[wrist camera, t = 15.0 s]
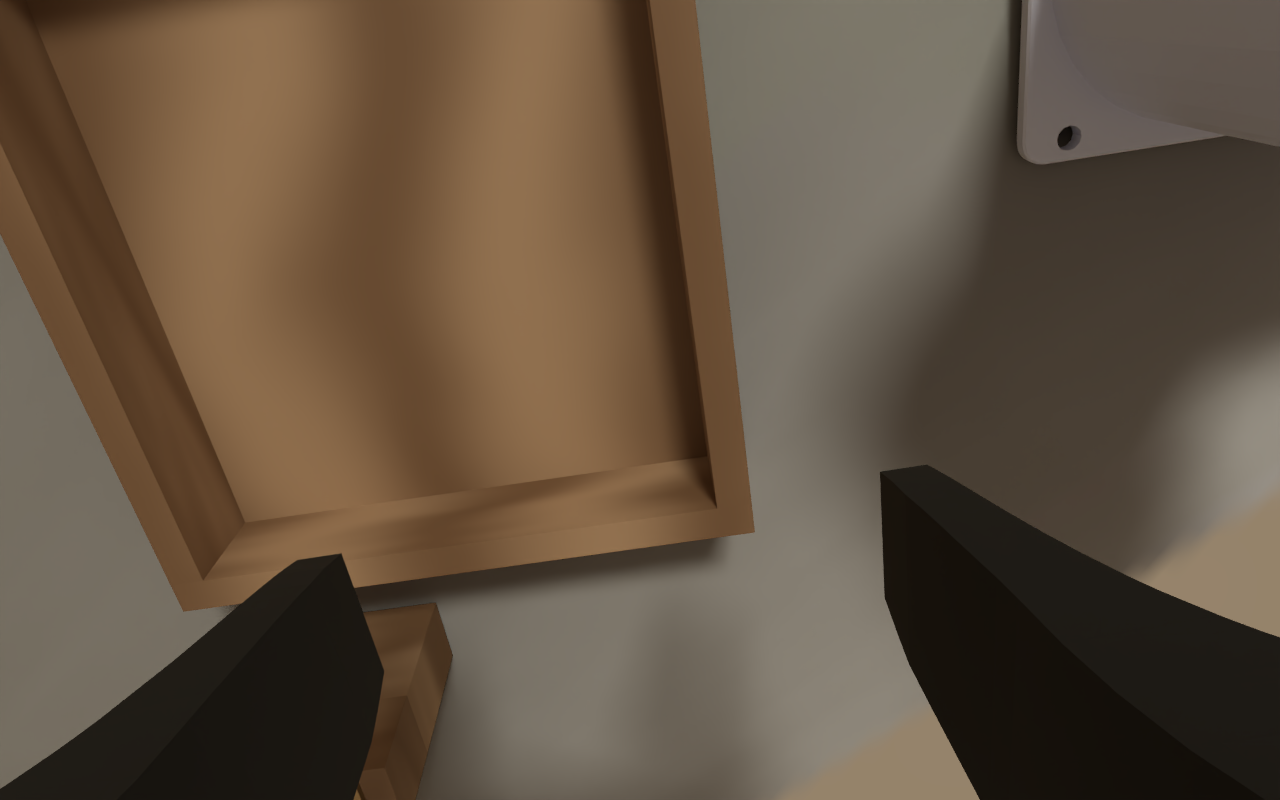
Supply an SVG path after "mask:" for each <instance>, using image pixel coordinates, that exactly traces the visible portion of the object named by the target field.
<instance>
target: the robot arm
mask: <svg viewBox="0 0 1280 800" xmlns="http://www.w3.org/2000/svg"><path fill="white" fill-rule="evenodd" d="M1068 126H1070V127H1072V132H1073V135H1072V138H1071V140H1070V142H1069V143H1068V144H1067V145H1066V146H1063V147H1061V148H1060V147H1059V146H1058V143H1057V138H1058V135H1059V133H1060V132H1061V131H1062V130H1063V128H1065V127H1068ZM1222 136H1231V137H1236V138H1241V139H1245V140H1250V141H1254V142H1259V143H1264V144H1268V145H1273V146H1278V147H1280V0H1022V18H1021V44H1020V70H1019V96H1018V122H1017V148H1018V152H1019V154H1020V155H1021V156H1022V158H1024V159H1026V160H1027V161H1029V162H1032V163H1034V164H1049V163H1056V162H1062V161H1069V160H1075V159H1081V158H1088V157H1094V156H1101V155H1107V154H1113V153H1120V152H1126V151H1133V150H1139V149H1145V148H1152V147H1158V146H1165V145H1171V144H1177V143H1184V142H1190V141H1197V140H1203V139H1209V138H1216V137H1222ZM880 482H881V510H882V537H883V564H884V591H885V600H886V602H887V605H888V608H889V611H890V614H891V616H892V619H893V622H894V625H895V628H896V630H897V633H898V636H899V639H900V641H901V644H902V646H903V649H904V652H905V654H906V657H907V660H908V662H909V665H910V667H911V669H912V671H913V673H914V675H915V677H916V678H917V680H918V682H919V684H920V686H921V688H922V690H923V692H924V694H925V696H926V698H927V700H928V702H929V704H930V706H931V708H932V709H933V711H934V713H935V715H936V717H937V719H938V721H939V723H940V725H941V727H942V728H943V730H944V732H945V734H946V736H947V738H948V740H949V742H950V744H951V746H952V748H953V749H954V751H955V753H956V755H957V757H958V759H959V761H960V763H961V765H962V767H963V768H964V770H965V772H966V774H967V776H968V778H969V780H970V782H971V783H972V785H973V787H974V789H975V791H976V793H977V795H978V797H979V799H980V800H1280V637H1277V636H1274V635H1271V634H1268V633H1265V632H1262V631H1259V630H1257V629H1254V628H1251V627H1249V626H1246V625H1243V624H1241V623H1238V622H1235V621H1232V620H1230V619H1227V618H1225V617H1222V616H1219V615H1217V614H1215V613H1212V612H1210V611H1207V610H1205V609H1203V608H1200V607H1198V606H1195V605H1193V604H1190V603H1188V602H1186V601H1183V600H1181V599H1178V598H1176V597H1174V596H1171V595H1169V594H1166V593H1164V592H1161V591H1159V590H1157V589H1155V588H1152V587H1150V586H1148V585H1146V584H1144V583H1142V582H1139V581H1137V580H1135V579H1133V578H1131V577H1129V576H1126V575H1124V574H1122V573H1120V572H1118V571H1116V570H1114V569H1112V568H1110V567H1108V566H1106V565H1104V564H1102V563H1100V562H1098V561H1096V560H1094V559H1092V558H1090V557H1088V556H1086V555H1084V554H1082V553H1080V552H1078V551H1077V550H1075V549H1073V548H1071V547H1069V546H1067V545H1065V544H1063V543H1062V542H1060V541H1058V540H1056V539H1054V538H1052V537H1050V536H1049V535H1047V534H1045V533H1043V532H1041V531H1040V530H1038V529H1036V528H1034V527H1033V526H1031V525H1029V524H1027V523H1026V522H1024V521H1022V520H1020V519H1019V518H1017V517H1015V516H1013V515H1012V514H1010V513H1008V512H1007V511H1005V510H1003V509H1001V508H1000V507H998V506H996V505H995V504H993V503H991V502H990V501H988V500H986V499H985V498H983V497H981V496H980V495H978V494H976V493H975V492H973V491H971V490H970V489H968V488H966V487H965V486H963V485H961V484H960V483H958V482H956V481H955V480H953V479H951V478H950V477H948V476H946V475H945V474H943V473H941V472H939V471H938V470H936V469H934V468H932V467H930V466H928V465H922V466H915V467H909V468H902V469H896V470H889V471H882V472H880ZM383 676H384V669H383V666H382V663H381V660H380V658H379V655H378V652H377V649H376V647H375V644H374V641H373V638H372V636H371V633H370V630H369V627H368V625H367V622H366V619H365V616H364V614H363V611H362V608H361V605H360V603H359V600H358V597H357V595H356V592H355V589H354V586H353V584H352V581H351V578H350V575H349V573H348V570H347V567H346V564H345V562H344V559H343V556H342V553H340V554H333V555H327V556H320V557H313V558H307V559H300V560H296V561H295V562H293V563H292V564H291V565H289V566H288V567H286V568H285V569H283V570H282V571H281V572H280V573H278V574H277V575H276V576H274V577H273V578H272V579H271V580H269V581H268V582H267V583H266V584H264V585H263V586H262V587H261V588H260V589H258V590H257V591H256V592H255V593H253V594H252V595H251V596H250V597H249V598H248V599H246V600H245V601H244V602H243V603H242V604H240V605H239V606H238V607H237V608H236V609H235V610H233V611H232V612H231V613H230V614H229V615H227V616H226V617H225V618H224V619H223V620H222V621H220V622H219V623H218V624H217V625H216V626H214V627H213V628H212V629H211V630H210V631H208V632H207V633H206V634H205V635H204V636H203V637H201V638H200V639H199V640H198V641H197V642H195V643H194V644H193V645H192V646H191V647H190V648H188V649H187V650H186V651H185V652H184V653H182V654H181V655H180V656H179V657H178V658H176V659H175V660H174V661H173V662H172V663H170V664H169V665H168V666H167V667H165V668H164V669H163V670H162V671H160V672H159V673H158V674H156V675H155V676H154V677H153V678H151V679H150V680H149V681H148V682H146V683H145V684H144V685H142V686H141V687H140V688H139V689H137V690H136V691H135V692H134V693H132V694H131V695H130V696H129V697H127V698H126V699H125V700H123V701H122V702H121V703H120V704H118V705H117V706H116V707H115V708H113V709H112V710H111V711H110V712H108V713H107V714H106V715H104V716H103V717H102V718H101V719H99V720H98V721H97V722H95V723H94V724H93V725H91V726H90V727H89V728H87V729H86V730H85V731H83V732H82V733H81V734H79V735H78V736H76V737H75V738H74V739H72V740H71V741H69V742H68V743H67V744H65V745H64V746H62V747H61V748H60V749H58V750H57V751H55V752H54V753H53V754H51V755H50V756H48V757H47V758H45V759H44V760H42V761H41V762H39V763H38V764H36V765H35V766H34V767H32V768H31V769H29V770H28V771H26V772H25V773H23V774H22V775H20V776H19V777H17V778H16V779H14V780H13V781H12V782H10V783H9V784H7V785H6V786H4V787H3V788H1V789H0V800H354V796H355V793H356V790H357V787H358V784H359V781H360V778H361V775H362V771H363V768H364V765H365V762H366V759H367V756H368V752H369V749H370V746H371V743H372V738H373V733H374V728H375V723H376V718H377V713H378V707H379V701H380V695H381V689H382V683H383Z"/></svg>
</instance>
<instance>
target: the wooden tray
mask: <svg viewBox="0 0 1280 800" xmlns="http://www.w3.org/2000/svg"><path fill="white" fill-rule="evenodd" d="M0 234H1V236H2V238H3V240H4V242H5V244H6V247H7V249H8V251H9V253H10V255H11V257H12V259H13V261H14V263H15V265H16V267H17V269H18V271H19V273H20V275H21V277H22V280H23V282H24V284H25V286H26V288H27V290H28V292H29V294H30V296H31V298H32V300H33V302H34V304H35V306H36V308H37V310H38V313H39V315H40V317H41V319H42V321H43V323H44V325H45V327H46V329H47V331H48V333H49V335H50V337H51V339H52V341H53V343H54V346H55V348H56V350H57V352H58V354H59V356H60V358H61V360H62V362H63V364H64V366H65V368H66V370H67V372H68V374H69V376H70V379H71V381H72V383H73V385H74V387H75V389H76V391H77V393H78V395H79V397H80V399H81V401H82V403H83V405H84V407H85V409H86V412H87V414H88V416H89V418H90V420H91V422H92V424H93V426H94V428H95V430H96V432H97V434H98V436H99V438H100V440H101V442H102V445H103V447H104V449H105V451H106V453H107V455H108V457H109V459H110V461H111V463H112V465H113V467H114V469H115V471H116V473H117V475H118V478H119V480H120V482H121V484H122V486H123V488H124V490H125V492H126V494H127V496H128V498H129V500H130V502H131V504H132V506H133V508H134V511H135V513H136V515H137V517H138V519H139V521H140V523H141V525H142V527H143V529H144V531H145V533H146V535H147V537H148V539H149V541H150V544H151V546H152V548H153V550H154V552H155V554H156V556H157V558H158V560H159V562H160V564H161V566H162V568H163V570H164V572H165V574H166V577H167V579H168V581H169V583H170V585H171V587H172V589H173V591H174V593H175V595H176V597H177V599H178V601H179V603H180V605H181V607H182V610H183V612H184V611H191V610H198V609H205V608H212V607H220V606H227V605H234V604H241V603H243V602H244V601H245V600H246V599H248V598H249V597H250V596H251V595H252V594H253V593H255V592H256V591H257V590H258V589H260V588H261V587H262V586H263V585H264V584H266V583H267V582H268V581H269V580H271V579H272V578H273V577H274V576H276V575H277V574H278V573H280V572H281V571H282V570H283V569H285V568H286V567H288V566H289V565H291V564H292V563H293V562H295V561H296V560H300V559H307V558H313V557H320V556H327V555H333V554H340V553H342V556H343V559H344V562H345V564H346V567H347V570H348V573H349V575H350V578H351V581H352V584H353V586H354V588H357V587H364V586H371V585H378V584H386V583H393V582H400V581H407V580H414V579H422V578H429V577H436V576H443V575H450V574H458V573H465V572H472V571H479V570H486V569H494V568H501V567H508V566H515V565H523V564H530V563H537V562H544V561H551V560H559V559H566V558H573V557H580V556H587V555H595V554H602V553H609V552H616V551H623V550H631V549H638V548H645V547H652V546H660V545H667V544H674V543H681V542H688V541H696V540H703V539H710V538H717V537H724V536H732V535H739V534H746V533H753V532H755V530H754V521H753V512H752V503H751V494H750V485H749V477H748V468H747V459H746V450H745V441H744V432H743V423H742V414H741V405H740V396H739V387H738V378H737V369H736V361H735V352H734V343H733V334H732V325H731V316H730V307H729V298H728V289H727V280H726V271H725V262H724V253H723V245H722V236H721V227H720V218H719V209H718V200H717V191H716V182H715V173H714V164H713V155H712V146H711V138H710V129H709V120H708V111H707V102H706V93H705V84H704V75H703V66H702V57H701V48H700V39H699V30H698V22H697V13H696V4H695V0H0ZM363 614H364V616H365V619H366V622H367V625H368V627H369V630H370V633H371V636H372V638H373V641H374V644H375V647H376V649H377V652H378V655H379V658H380V660H381V663H382V666H383V669H384V676H383V683H382V689H381V695H380V701H379V707H378V713H377V718H376V723H375V728H374V733H373V738H372V743H371V746H370V749H369V752H368V756H367V759H366V762H365V765H364V768H363V771H362V775H361V778H360V781H359V784H360V786H361V788H362V791H363V793H364V796H365V798H366V800H416V796H417V792H418V788H419V784H420V780H421V777H422V773H423V769H424V765H425V761H426V757H427V753H428V749H429V745H430V742H431V738H432V734H433V730H434V726H435V722H436V718H437V714H438V711H439V707H440V703H441V699H442V695H443V691H444V687H445V683H446V680H447V676H448V672H449V668H450V664H451V660H452V656H453V655H452V652H451V649H450V646H449V642H448V639H447V636H446V633H445V630H444V627H443V624H442V621H441V618H440V614H439V611H438V608H437V605H436V603H429V604H422V605H414V606H407V607H400V608H393V609H385V610H378V611H371V612H363Z"/></svg>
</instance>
